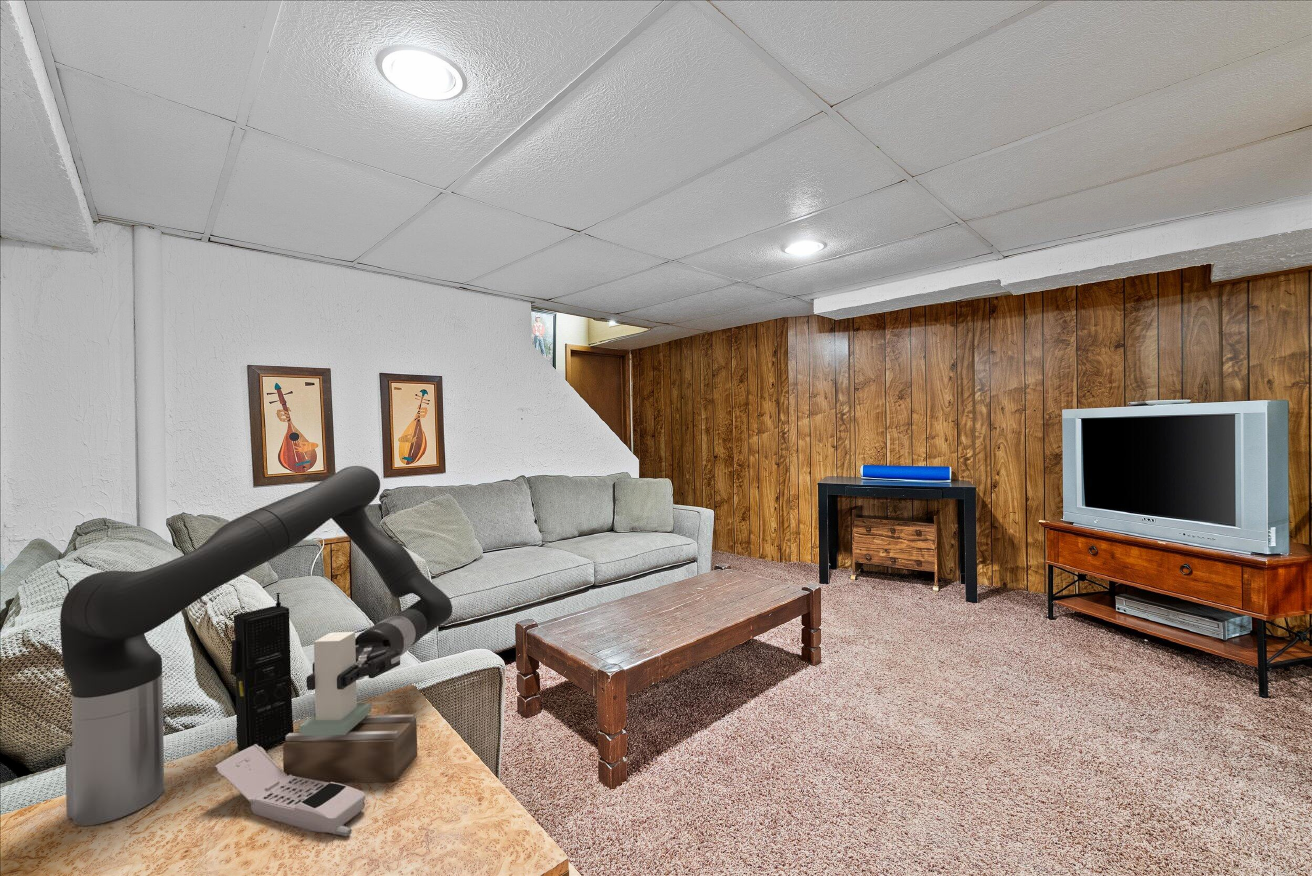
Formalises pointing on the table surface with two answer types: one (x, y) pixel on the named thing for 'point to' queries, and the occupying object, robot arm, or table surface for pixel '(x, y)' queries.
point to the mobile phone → (291, 794)
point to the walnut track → (355, 751)
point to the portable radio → (262, 676)
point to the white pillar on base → (334, 688)
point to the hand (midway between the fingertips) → (324, 683)
